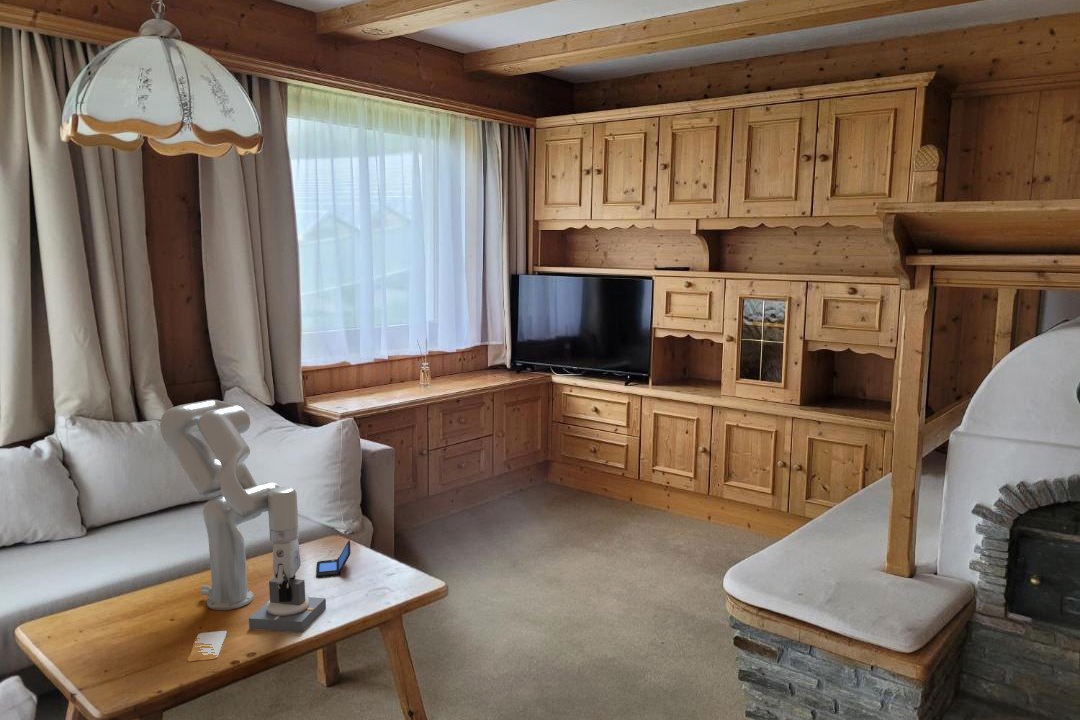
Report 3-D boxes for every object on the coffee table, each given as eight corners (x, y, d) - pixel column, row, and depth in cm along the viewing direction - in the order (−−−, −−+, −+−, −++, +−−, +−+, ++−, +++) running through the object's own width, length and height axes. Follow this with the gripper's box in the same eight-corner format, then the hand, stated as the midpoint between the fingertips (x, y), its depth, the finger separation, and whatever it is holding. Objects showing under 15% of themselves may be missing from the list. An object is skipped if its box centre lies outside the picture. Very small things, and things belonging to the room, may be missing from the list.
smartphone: (185, 661, 198) (198, 633, 212) (186, 664, 198) (198, 636, 212) (217, 658, 199) (227, 630, 214) (217, 660, 199) (227, 633, 214)
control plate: (249, 628, 215) (248, 617, 215) (276, 605, 230) (275, 594, 230) (301, 632, 213) (301, 621, 212) (326, 608, 227) (325, 597, 227)
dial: (258, 613, 217) (257, 586, 216) (281, 596, 228) (279, 571, 227) (295, 617, 214) (293, 590, 213) (316, 600, 225) (315, 574, 224)
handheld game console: (316, 564, 261) (315, 542, 260) (351, 561, 264) (350, 539, 263) (315, 579, 249) (314, 556, 248) (351, 575, 251) (350, 552, 251)
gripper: (289, 543, 210) (293, 610, 212) (306, 522, 227) (309, 585, 229) (260, 544, 210) (264, 611, 212) (279, 523, 226) (282, 585, 229)
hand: (287, 597), depth 221 cm, fingers closed on dial, 4 cm apart
